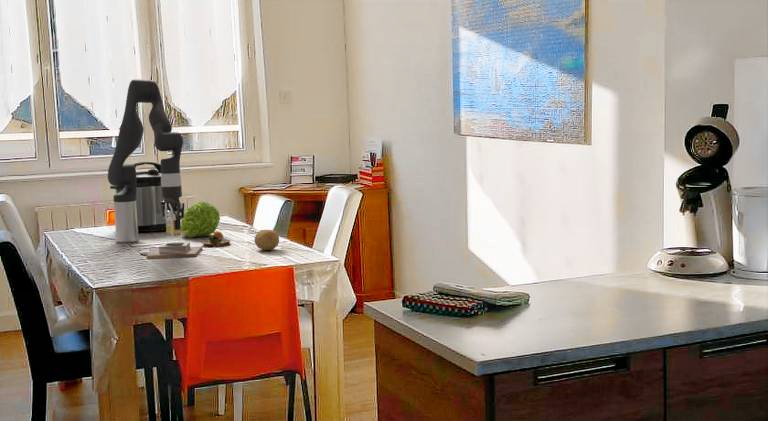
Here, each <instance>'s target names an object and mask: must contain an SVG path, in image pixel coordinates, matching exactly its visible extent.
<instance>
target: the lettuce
mask: <svg viewBox="0 0 768 421" xmlns="http://www.w3.org/2000/svg"><path fill="white" fill-rule="evenodd" d="M220 221H221V218H220V212H219V210H218V209H217V207H216V206H215V205H213V204H211V203H208V202H205V201H199V202H196V203H195V204H193V205H191V206H190V207H188V208H187V209H184V218H182V219H181V220H180V222H181V233H182V234H183V235H184V236H187V237H189V238H196V237H205V236H210V235H213V234H214V232H215V231H216V230H217V229H218V226H219V223H220Z"/></svg>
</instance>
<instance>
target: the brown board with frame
mask: <svg viewBox="0 0 768 421" xmlns="http://www.w3.org/2000/svg"><path fill="white" fill-rule="evenodd" d="M202 250H203V246H191V242H190V241H188V242H187V241H183V242H163V243H162V244H161V245H159V246H158V247H156V248H154V249H153V250H152V251H151V252H149V253H148V254H146V259H147V260H151V259H152V260H153V259H172V258H173V259H174V258H175V259H177V258H196V257H197V256H198V255H199V253H201V251H202Z"/></svg>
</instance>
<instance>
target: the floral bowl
mask: <svg viewBox="0 0 768 421" xmlns="http://www.w3.org/2000/svg"><path fill="white" fill-rule="evenodd" d="M201 244H202V245H203V246H205V248H211V246H212V247H213V248H220V247H222V246H223V247H227V246H229V245H231V240H229V239H225V238H224V234H223V233H222V232H221V231H218V230H217V231H216V230H215V232H214V233H213V234H211V236H210V237H209V238H208V240H204V241H201Z"/></svg>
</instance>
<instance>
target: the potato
mask: <svg viewBox="0 0 768 421" xmlns="http://www.w3.org/2000/svg"><path fill="white" fill-rule="evenodd" d="M279 243H280V237H279V235H278V232H277V231H276V230H273V229H262V230H259V231H257V232H256V234H255V236H254V244H255V245H256V247H258V249H261V250H263V251H271V250H274V249H275V248H277V246H278V247H279Z"/></svg>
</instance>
